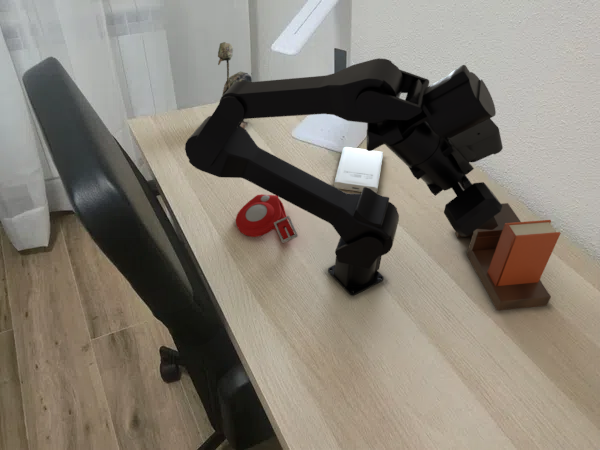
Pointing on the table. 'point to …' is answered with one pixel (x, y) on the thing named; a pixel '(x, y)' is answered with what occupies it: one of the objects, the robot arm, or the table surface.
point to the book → (522, 252)
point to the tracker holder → (265, 218)
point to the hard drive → (358, 169)
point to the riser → (481, 259)
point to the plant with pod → (226, 55)
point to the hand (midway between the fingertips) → (480, 206)
